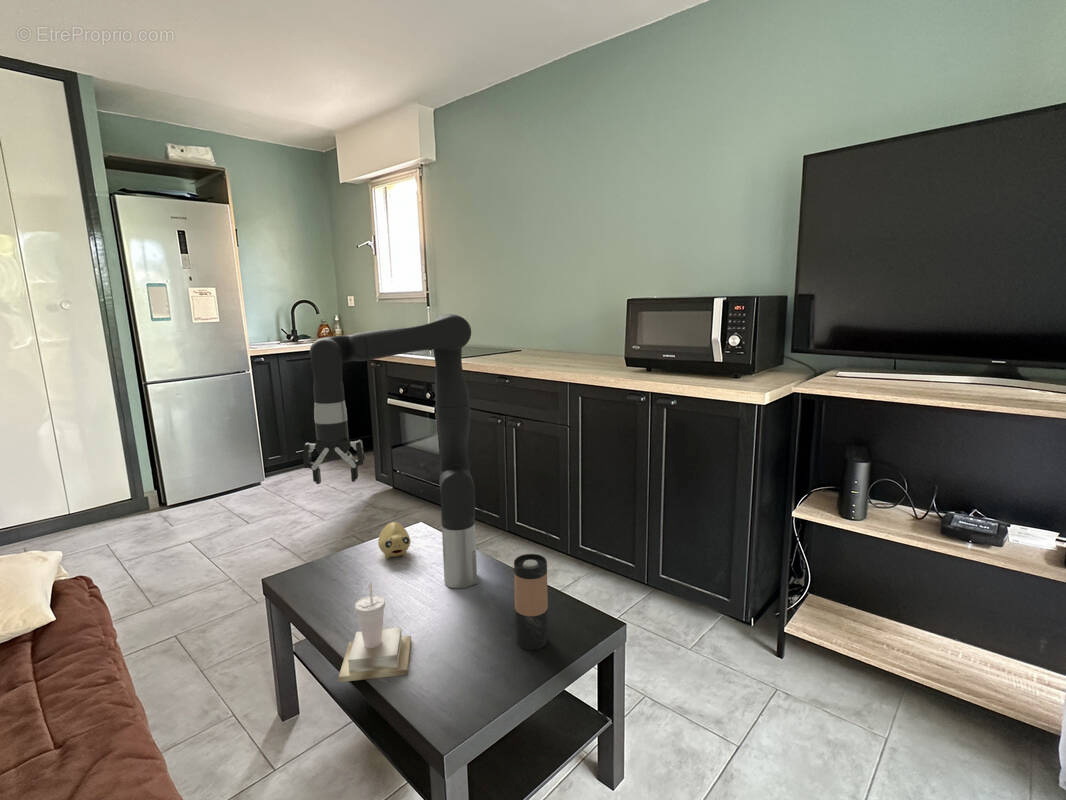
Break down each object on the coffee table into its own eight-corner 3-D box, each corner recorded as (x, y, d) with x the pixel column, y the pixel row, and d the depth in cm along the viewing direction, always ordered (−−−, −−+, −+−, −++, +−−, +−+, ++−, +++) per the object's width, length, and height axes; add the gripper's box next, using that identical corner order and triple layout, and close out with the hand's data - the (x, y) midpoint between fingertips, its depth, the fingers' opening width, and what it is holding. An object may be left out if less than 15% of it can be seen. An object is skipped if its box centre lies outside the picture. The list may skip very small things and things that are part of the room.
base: (411, 640, 126) (410, 624, 125) (407, 674, 114) (406, 656, 113) (349, 646, 124) (348, 630, 123) (338, 682, 112) (337, 664, 111)
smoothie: (394, 638, 120) (390, 580, 117) (374, 655, 114) (369, 595, 111) (372, 631, 122) (367, 574, 120) (351, 647, 117) (346, 588, 114)
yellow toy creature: (382, 567, 161) (380, 534, 159) (377, 551, 172) (375, 520, 170) (415, 561, 165) (413, 529, 163) (408, 545, 176) (406, 515, 174)
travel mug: (552, 634, 127) (551, 556, 124) (542, 654, 120) (541, 571, 117) (522, 628, 130) (520, 551, 126) (510, 647, 123) (508, 566, 119)
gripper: (363, 415, 137) (367, 475, 139) (304, 417, 135) (310, 479, 137) (358, 421, 129) (363, 485, 132) (296, 424, 127) (302, 489, 130)
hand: (336, 482), depth 135 cm, fingers open, 8 cm apart
